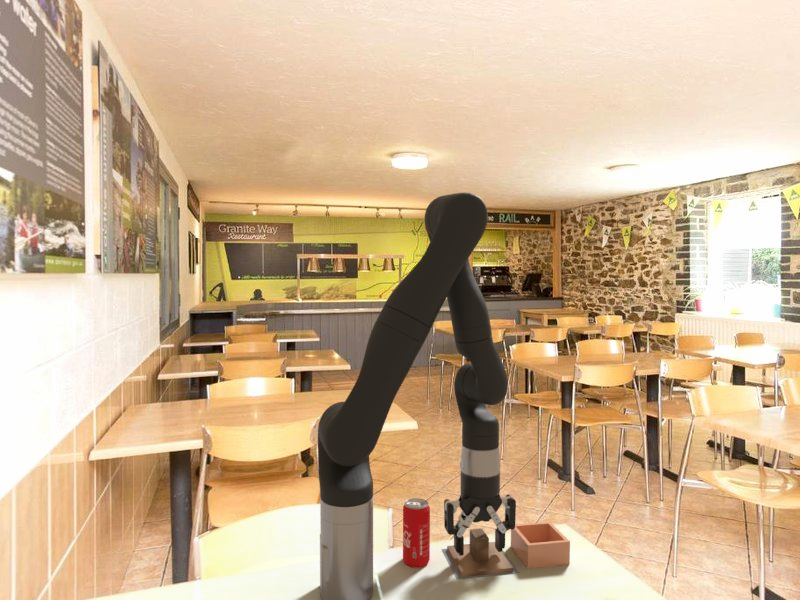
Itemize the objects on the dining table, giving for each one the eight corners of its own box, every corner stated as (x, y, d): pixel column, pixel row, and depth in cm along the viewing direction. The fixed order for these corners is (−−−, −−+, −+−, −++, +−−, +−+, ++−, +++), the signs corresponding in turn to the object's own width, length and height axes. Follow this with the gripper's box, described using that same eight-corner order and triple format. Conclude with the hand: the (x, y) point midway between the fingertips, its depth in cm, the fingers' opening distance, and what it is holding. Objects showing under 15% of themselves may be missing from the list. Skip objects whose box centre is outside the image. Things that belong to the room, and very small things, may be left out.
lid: (461, 577, 100) (461, 548, 100) (447, 549, 110) (447, 524, 109) (513, 571, 102) (513, 544, 101) (494, 545, 112) (494, 520, 111)
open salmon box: (527, 571, 103) (528, 545, 103) (510, 548, 111) (511, 524, 111) (569, 566, 105) (569, 541, 104) (549, 545, 113) (549, 521, 113)
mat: (457, 582, 99) (457, 579, 99) (441, 552, 110) (441, 549, 110) (519, 575, 101) (519, 572, 101) (498, 546, 112) (498, 543, 112)
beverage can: (427, 572, 102) (427, 510, 102) (400, 569, 104) (400, 507, 103) (431, 558, 108) (431, 498, 107) (405, 555, 109) (405, 496, 108)
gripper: (449, 478, 100) (449, 565, 101) (523, 472, 102) (522, 558, 103) (439, 463, 107) (438, 545, 108) (508, 459, 110) (507, 539, 111)
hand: (479, 551), depth 106 cm, fingers open, 7 cm apart
